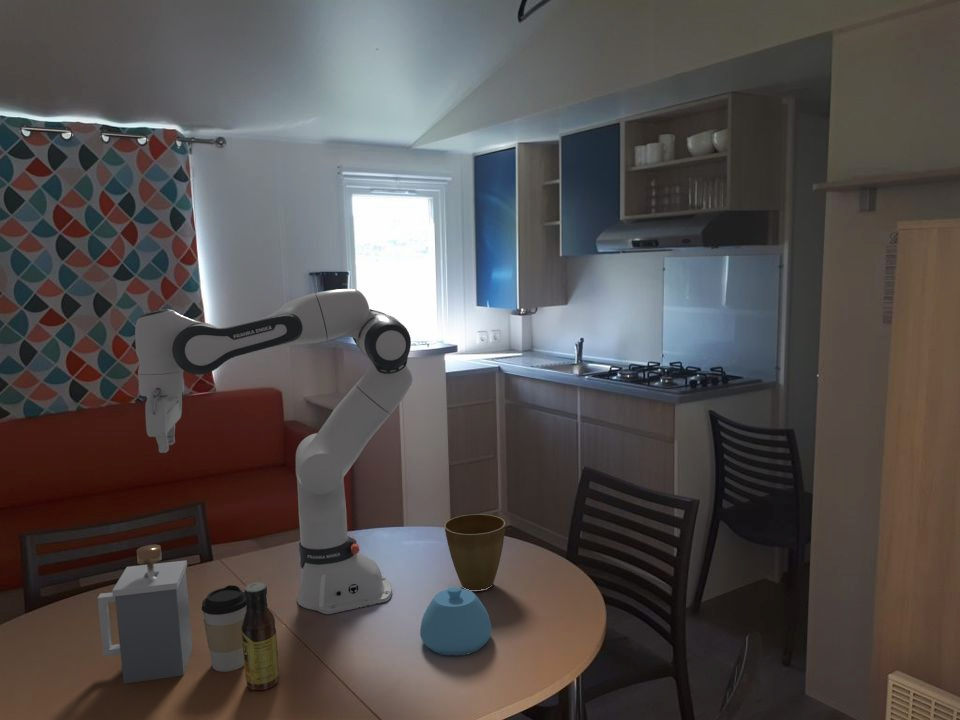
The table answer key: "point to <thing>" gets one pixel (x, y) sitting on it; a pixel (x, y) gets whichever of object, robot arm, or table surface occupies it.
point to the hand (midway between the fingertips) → (167, 448)
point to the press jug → (149, 622)
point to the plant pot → (475, 548)
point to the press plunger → (149, 557)
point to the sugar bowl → (455, 623)
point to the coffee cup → (225, 627)
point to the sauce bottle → (259, 640)
